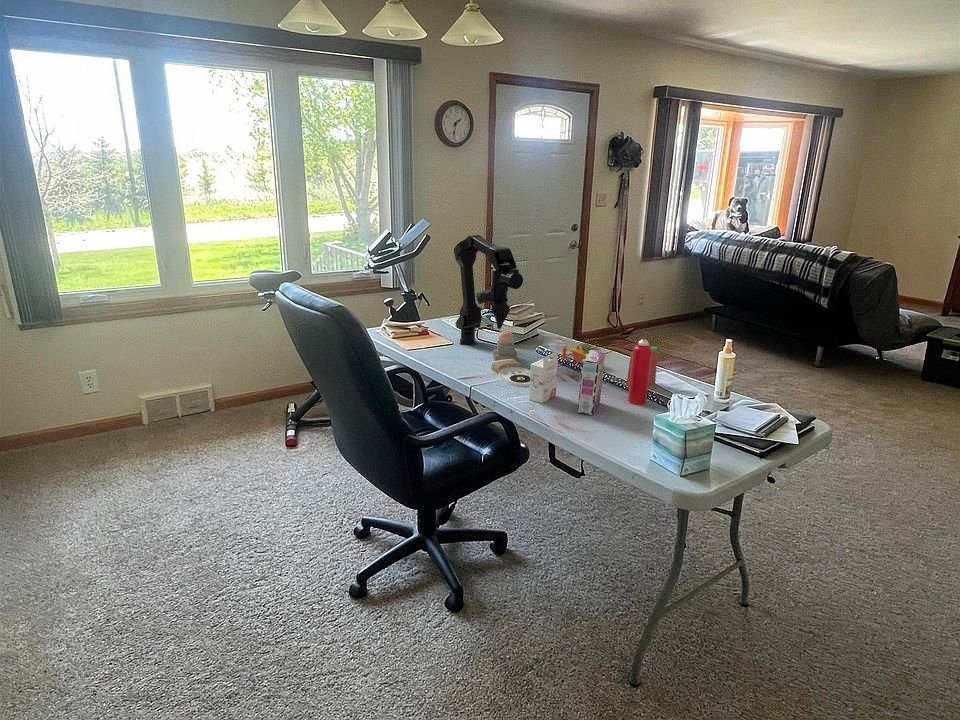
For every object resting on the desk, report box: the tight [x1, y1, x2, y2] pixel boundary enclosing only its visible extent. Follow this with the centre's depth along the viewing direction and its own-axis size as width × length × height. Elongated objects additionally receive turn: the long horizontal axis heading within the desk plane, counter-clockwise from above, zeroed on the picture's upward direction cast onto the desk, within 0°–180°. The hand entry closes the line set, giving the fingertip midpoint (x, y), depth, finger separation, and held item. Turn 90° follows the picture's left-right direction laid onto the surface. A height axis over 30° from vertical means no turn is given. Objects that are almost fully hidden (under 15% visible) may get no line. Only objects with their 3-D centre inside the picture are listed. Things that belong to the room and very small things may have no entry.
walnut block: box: [493, 348, 518, 362], centre depth 212 cm, size 8×8×4 cm
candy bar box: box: [577, 350, 606, 416], centre depth 170 cm, size 11×5×16 cm, turn 159°
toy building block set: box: [561, 342, 659, 387], centre depth 201 cm, size 12×35×14 cm, turn 35°
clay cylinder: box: [498, 330, 513, 346], centre depth 210 cm, size 5×5×4 cm
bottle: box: [627, 338, 652, 406], centre depth 175 cm, size 5×6×20 cm
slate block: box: [496, 340, 516, 355], centre depth 211 cm, size 6×6×4 cm
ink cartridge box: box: [528, 351, 559, 404], centre depth 177 cm, size 9×5×15 cm, turn 143°
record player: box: [490, 359, 530, 388], centre depth 197 cm, size 12×3×20 cm
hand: (498, 325), depth 212 cm, fingers open, 9 cm apart
